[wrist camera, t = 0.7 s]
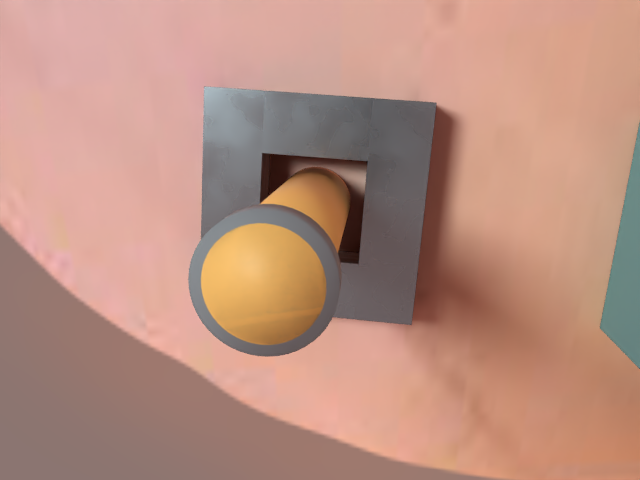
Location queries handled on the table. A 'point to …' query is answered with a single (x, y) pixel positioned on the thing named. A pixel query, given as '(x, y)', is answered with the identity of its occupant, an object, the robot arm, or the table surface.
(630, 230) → the socket
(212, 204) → the mount
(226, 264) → the pin
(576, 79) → the table surface
